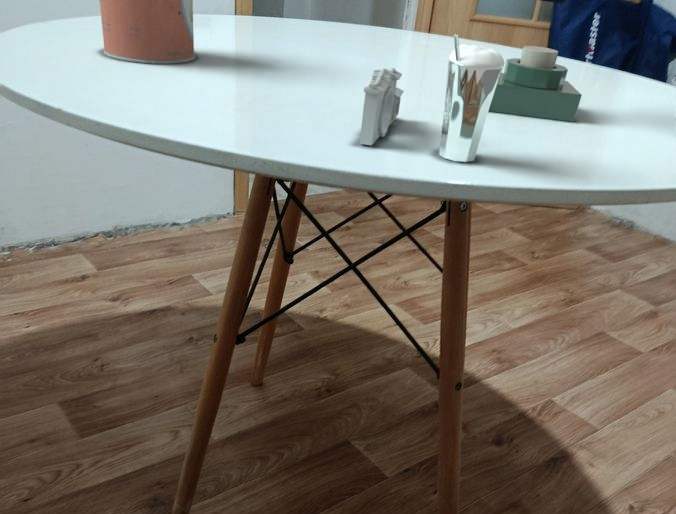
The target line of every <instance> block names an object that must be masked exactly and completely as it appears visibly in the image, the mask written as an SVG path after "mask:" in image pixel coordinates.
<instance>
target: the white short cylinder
mask: <svg viewBox="0 0 676 514" xmlns="http://www.w3.org/2000/svg"><path fill="white" fill-rule="evenodd" d="M558 56H559V51H558V50H556V49H554V48H553V49H552V48H549V47H544V46H536V45H524V46H523V47H522V51H521V55H520V58H519V59H520V64H523V65H527V66H531V67H537V68H545V69H554V67H555V64H557V63H556V62H557V59H558Z"/></svg>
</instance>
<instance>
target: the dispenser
mask: <svg viewBox="0 0 676 514" xmlns="http://www.w3.org/2000/svg"><path fill="white" fill-rule="evenodd" d="M520 59H521V58H519V57H518V58H517V57H513V58H508V59H506V61H505V64H504V70H503V72H501V75H500V78H499V81H498V84H497V88H496V91H495V94H494V97H493V99H492V102H491V105H490V108H489V111H488V112H492V113H500V114H510V115H517V116H523V117H524V116H525V117H533V118H540V119H548V120H556V121H563V122H572V123H573V122H575V120H576V116H577V113H578V110H579V106H580V102H581V99H582V94H581V93H580V92H579V91H578V90H577V89H576V88H575V86H573V84H571V83H570V82H569V81H568V80H566V78H567V74H568V71H569V69H568V68H567V67H566V66H564V65H561V64H557V63H555V67H554V69H545V68H537V67H531V66H527V65H523V64H520Z"/></svg>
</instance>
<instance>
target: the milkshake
mask: <svg viewBox="0 0 676 514" xmlns="http://www.w3.org/2000/svg"><path fill="white" fill-rule="evenodd" d="M453 41H454V49H453V50H452V52H451V53H450V54H449V55H448V65H447V77H446V86H445V87H446V88H445V89H446V90H445V102H444V109H443V117H442V125H441V136H440V142H439V143H440V144H439V156H440V157H442V158H443V159H446V160H449V161H453V162H459V163H460V162H461V163H469V162H474V161H475V158H476V156H477V153H478V150H479V149H478V148H479V145H480V142H481V138H482V135H483V132H484V128H485V125H486V121H487V117H488V115H489V112H490V111H489V108H490V105H491V102H492V99H493V97H494V94H495V91H496V88H497V84H498V81H499V78H500V75H501V73H503V68H504V67H505V60H504V58H503V56H502V54H501V53H500V52H499V51H498V50H497V49H495V48H493V47H490V46H489V47H488V46H479V45H478V44H468V43H463V44H460V39H459V34H453Z"/></svg>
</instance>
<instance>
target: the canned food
mask: <svg viewBox="0 0 676 514" xmlns="http://www.w3.org/2000/svg"><path fill="white" fill-rule="evenodd" d="M193 3H194V2H193V0H99V8H100V9H99V10H100V18H101V19H100V20H101V29H102V40H103V48H104V49H103V53H104V54H105V55H106V56H107V57H110V58H111V59H112V58H113V59H116V60H120V61H126V62H132V63H139V64H140V63H141V64H157V65H171V64H182V63H183V64H184V63H188V62H191V61H193V60H195V59H196V55H195V44H194V43H195V42H194V41H195V39H194V38H195V37H194V7H193V6H194V5H193Z"/></svg>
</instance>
